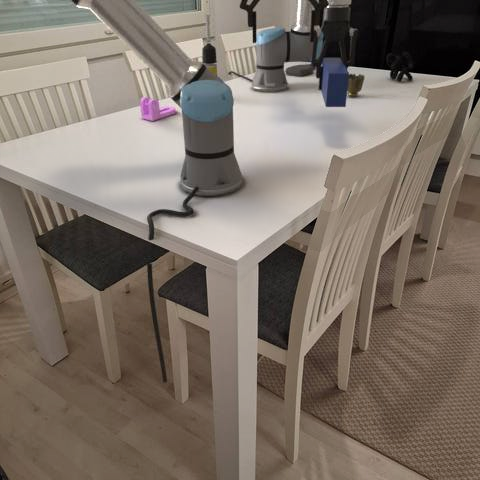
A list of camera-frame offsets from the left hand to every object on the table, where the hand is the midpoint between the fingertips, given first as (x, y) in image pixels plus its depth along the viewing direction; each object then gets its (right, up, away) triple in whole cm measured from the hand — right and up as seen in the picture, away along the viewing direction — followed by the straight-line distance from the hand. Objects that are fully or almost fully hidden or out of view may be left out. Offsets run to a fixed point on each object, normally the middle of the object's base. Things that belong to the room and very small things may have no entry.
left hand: (282, 41), depth 107 cm
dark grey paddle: (+23, +35, +113) cm, 120 cm away
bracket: (-39, -3, +54) cm, 66 cm away
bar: (+17, -4, +28) cm, 33 cm away
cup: (+35, +10, +71) cm, 80 cm away
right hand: (+18, 0, +33) cm, 38 cm away
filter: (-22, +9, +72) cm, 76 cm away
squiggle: (+62, +24, +94) cm, 115 cm away
